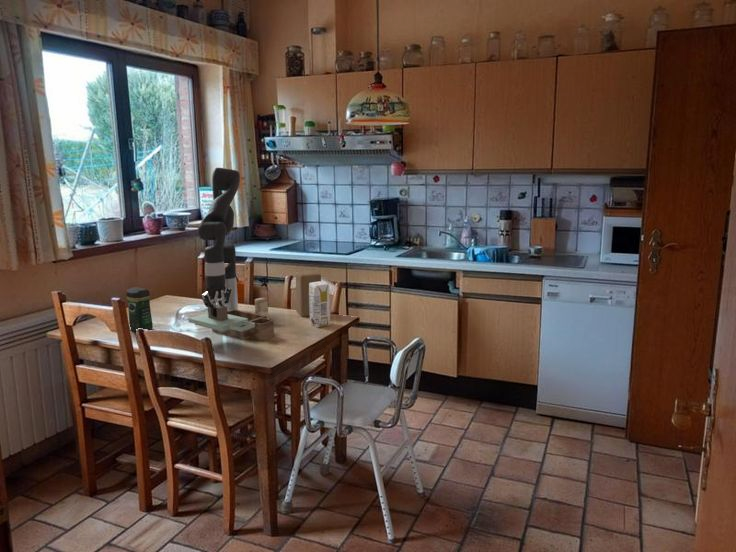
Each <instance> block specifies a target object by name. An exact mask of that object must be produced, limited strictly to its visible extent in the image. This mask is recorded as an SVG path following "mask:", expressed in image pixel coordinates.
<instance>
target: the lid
mask: <svg viewBox="0 0 736 552" xmlns="http://www.w3.org/2000/svg"><path fill="white" fill-rule="evenodd" d="M216 313H217V317H212V316H211V309H210V308H209V307H207V313H206V312H205V313H202V314H200V315H195V316H192V317H188V322H189V323H192V324H194V325H195V326H199V327H203V328H207V329H211V330H212V329H214V330H218V331H222V332H224V331H227V330H230V329H232V330H236V331H241V332H242V331H245V330H248V329H251V328H254V327H255V323H251V322H248V319H247V318H243V317H239V316H234V315H230V314H228V312H227V307H225V306H221V305H217V304H216ZM243 325H246V326H243ZM240 326H243V327H240Z"/></svg>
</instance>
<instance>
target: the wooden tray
mask: <svg viewBox="0 0 736 552" xmlns="http://www.w3.org/2000/svg"><path fill="white" fill-rule="evenodd" d="M227 312H228V314H230V315H234V316H239V317H243V318H247V319H248V322H251V323H255V327H254V328H251V329H248V330H245V331H242V332H241V331H236V330H232V329H230V330H227V331H224V332H222V331H218V330H214V329H211V332H212V333H216V334H220V335H224V336H227V335H228V337H231V336H232V337H231V338H236V339H240V340H244V341H245V340H248V339H253V340H256V341H261V342H264V341H265V340H269V339H271V338H274V337H275V331H274V329H275V328H274V327H275V325H274V323H275V322H274V320H273V319H269V318H268V319H267V316H264V315H259V314H255V312H254V313H252V312H250V311H246V310H245V311H244V310H240V309H238V310H236V309H233V310H230V311H227ZM243 326H246V325H243ZM243 326H240V327H243Z"/></svg>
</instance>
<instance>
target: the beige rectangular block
mask: <svg viewBox="0 0 736 552" xmlns="http://www.w3.org/2000/svg"><path fill="white" fill-rule="evenodd" d="M268 300H269V299H268V298H265V297H259V298H255V299H254V313H255V314H259V315H264V316H267V319H269V307H268V306H269V303H268V302H269V301H268Z"/></svg>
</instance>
